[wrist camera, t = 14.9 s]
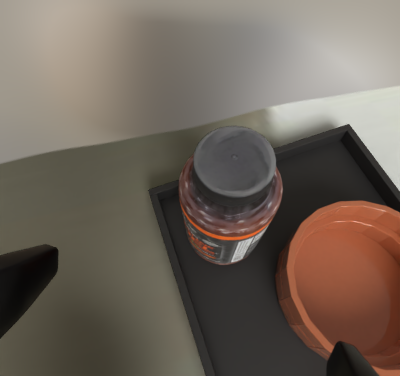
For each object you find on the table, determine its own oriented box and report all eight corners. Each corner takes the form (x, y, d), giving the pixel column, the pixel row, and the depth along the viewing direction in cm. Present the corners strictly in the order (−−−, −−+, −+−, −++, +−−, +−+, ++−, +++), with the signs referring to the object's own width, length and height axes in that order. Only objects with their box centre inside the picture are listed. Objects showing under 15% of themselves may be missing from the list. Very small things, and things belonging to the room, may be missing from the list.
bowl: (455, 334, 20) (508, 335, 17) (319, 396, 19) (346, 412, 15) (365, 203, 25) (392, 181, 21) (251, 245, 23) (259, 230, 20)
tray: (496, 350, 20) (521, 351, 18) (238, 474, 17) (241, 488, 16) (341, 134, 28) (349, 123, 26) (151, 197, 25) (147, 189, 24)
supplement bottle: (171, 230, 24) (144, 156, 14) (221, 184, 26) (230, 89, 15) (224, 283, 22) (237, 243, 12) (273, 230, 24) (323, 155, 13)
